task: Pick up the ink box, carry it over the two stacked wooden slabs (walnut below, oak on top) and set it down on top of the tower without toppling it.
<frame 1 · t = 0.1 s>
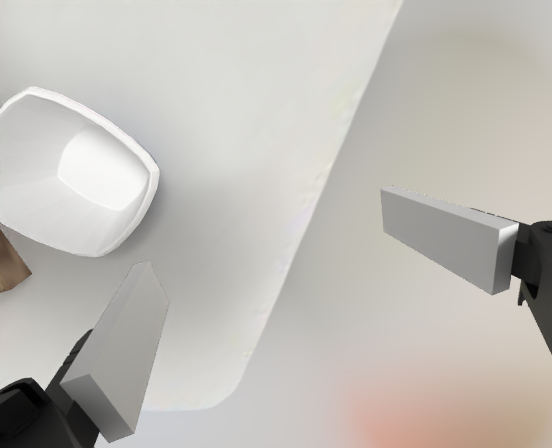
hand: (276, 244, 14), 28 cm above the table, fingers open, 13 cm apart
bowl: (108, 168, 36), on the table
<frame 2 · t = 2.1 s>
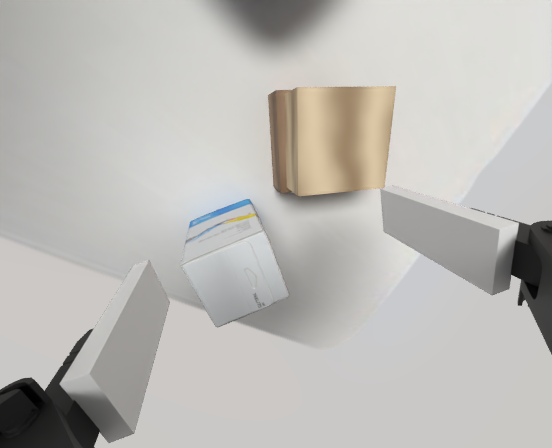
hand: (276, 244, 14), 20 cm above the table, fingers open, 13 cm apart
tower top: (327, 141, 30), point 4 cm above the table, touching tower base
ink box: (231, 235, 35), on the table
tower base: (310, 140, 34), on the table, touching tower top
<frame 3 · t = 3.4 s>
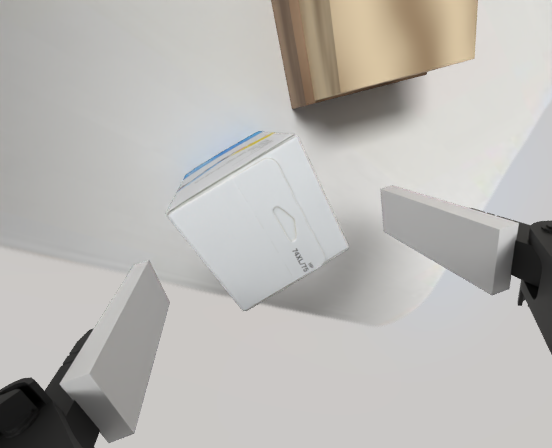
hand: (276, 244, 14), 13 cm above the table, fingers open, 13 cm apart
tower top: (365, 12, 19), point 4 cm above the table, touching tower base
ink box: (245, 189, 26), on the table
tower base: (335, 29, 23), on the table, touching tower top
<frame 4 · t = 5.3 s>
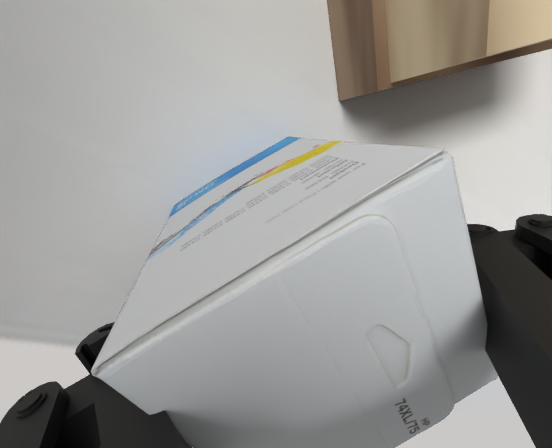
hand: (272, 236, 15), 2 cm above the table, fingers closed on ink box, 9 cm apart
ink box: (265, 223, 17), on the table, touching gripper
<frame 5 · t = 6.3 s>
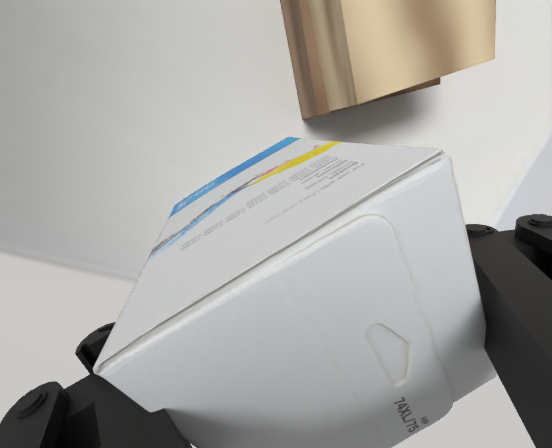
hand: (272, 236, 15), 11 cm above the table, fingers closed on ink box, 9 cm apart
tower top: (377, 19, 19), point 4 cm above the table, touching tower base
ink box: (265, 223, 17), point 9 cm above the table, touching gripper
tower base: (346, 40, 23), on the table, touching tower top
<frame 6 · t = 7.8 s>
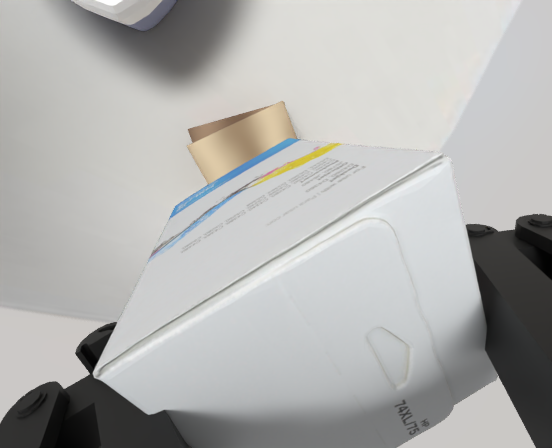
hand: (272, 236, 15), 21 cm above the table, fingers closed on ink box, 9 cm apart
tower top: (251, 166, 30), point 4 cm above the table, touching tower base
ink box: (265, 224, 17), point 18 cm above the table, touching gripper
tower base: (247, 160, 34), on the table, touching tower top
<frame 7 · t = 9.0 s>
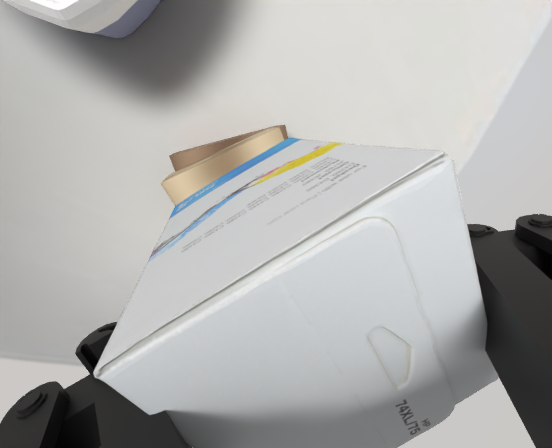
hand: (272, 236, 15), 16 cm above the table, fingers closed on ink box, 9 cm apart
tower top: (243, 197, 25), point 4 cm above the table, touching tower base
ink box: (265, 224, 17), point 13 cm above the table, touching gripper
tower base: (241, 186, 30), on the table, touching tower top
when the fingers open (13 cm above the table, at t = 10.4 s): ink box drops 2 cm, point 8 cm above the table.
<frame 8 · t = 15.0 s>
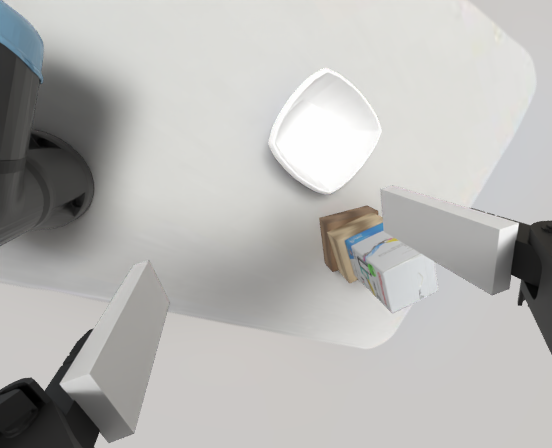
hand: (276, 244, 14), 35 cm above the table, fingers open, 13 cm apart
tower top: (355, 243, 52), point 4 cm above the table, touching tower base
ink box: (368, 249, 48), point 8 cm above the table
bowl: (304, 135, 47), on the table
tower base: (344, 234, 56), on the table, touching tower top
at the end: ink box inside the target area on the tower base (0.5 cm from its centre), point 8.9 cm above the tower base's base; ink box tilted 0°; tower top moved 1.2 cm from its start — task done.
